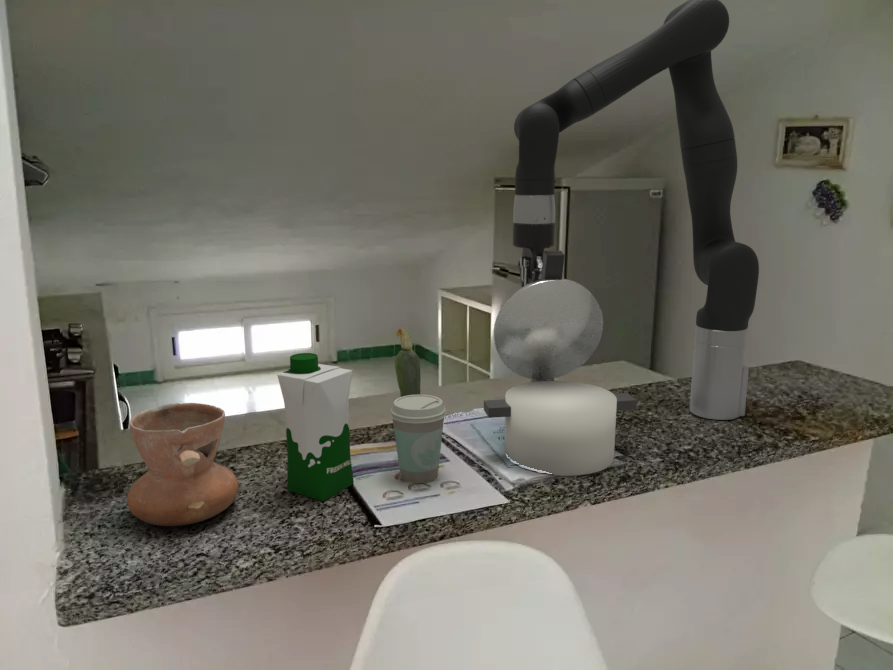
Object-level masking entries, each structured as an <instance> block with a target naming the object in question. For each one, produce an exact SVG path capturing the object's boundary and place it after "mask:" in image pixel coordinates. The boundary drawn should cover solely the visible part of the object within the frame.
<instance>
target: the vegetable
mask: <svg viewBox="0 0 893 670" xmlns="http://www.w3.org/2000/svg"><path fill="white" fill-rule="evenodd" d="M395 335H396V338H398V337H399V343H400V346H401V350H400V351H398V353H397V354H396V356H395V358H394V359H395V360H394V369H395V375H396V380H397V385H398V388H399V394H400V397H403V396H407V395H421V363H420V357H419V356H418V354H417V353H416V352H415V350H414V349H413V344H412V340H411V338H410V336H409V333H407V330H405V329H404V328H398V329H397V330H396V332H395ZM400 397H399V398H400Z"/></svg>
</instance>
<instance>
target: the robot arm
mask: <svg viewBox="0 0 893 670" xmlns="http://www.w3.org/2000/svg"><path fill="white" fill-rule="evenodd" d="M729 28H730V15H729V12H728V9H727V8H726V5H725V4H724V3H722V1H721V0H687V1H685V2H683V3H682V4H680V5H678V6H676V7H675V8H674V9H672V10H671V11H670V12H669V14H668V15H667V16H666V17H665V19H664V21H663V24H662V25H661V26H660V27H659V28H657V29H655V31H653V32H651V33H650V34H649V35H647V36H645V37H644V38H643V39H641V40H639V41H638V42H635V44H632V45H630V46H629V47H627V48H625V49H623V50H622V51H620V52H618V53H616V54H614V55H612V56H609V58H606V59H604V60H602V61H601V62H598V63H597V64H595V65H594V66H592V67H590V68H588V69H587V70H586V71H584V72H581V74H579V75H577V76H576V77H574V78H572V79H571V80H570V81H568V82H567V83H565V84H564V85H562V86H561V87H560V88H559V89H558V90H556V91H554V92H552V93H551V94H549V95H547V96H545V97H543V98H541V99H539V100H538V101H536V102H534V103H532V104H530V105H528V106H527V107H524V108H523V109H522V110H521V111H520V112H519V113H518V114H517V116H516V118H515V120H514V124H513V130H514V135H515V137H516V139H518V163H517V165H516V168H515V177H514V179H515V180H514V182H515V183H514V184H515V185H514V202H513V206H512V207H513V208H512V209H513V211H512V216H513V217H512V245H513V246H514V247H515V248H518V249H522V254H521V256H519V257H520V258H519V259H520V260H518V263H517V265H518V271H519V277H520V283H521V284H520V285H521V288H522V287H524V286H526V285H528V284H530V283H532V282H535V281H538V280H541V273H542V263H543V253H544V251H545V249H549V248H552V247H554V246H555V235H556V233H555V232H556V229H555V228H556V201H555V200H556V199H555V187H556V186H555V183H556V182H555V181H556V180H555V179H556V177H555V176H556V175H555V174H556V173H555V167H556V166H555V165H556V158H557V154H558V153H557V152H558V146H559V137H560V133H561V132H563V131H565V130H566V129H568V128H569V127H571V126H572V125H574V124H575V123H579V122H581V121H583V120H586V119H588V118H589V117H592V116H593V115H595V114H597V113H598V112H600V111H602V110H603V109H604V108H606V107H608V106H610V105H611V104H613V103H614V102H616V101H617V100H619V99H620V98H622V97H623V96H625V95H626V94H628V93H629V92H631V91H632V90H633V89H634V90H635V88H636V87H638V86H640V85H642V84H644V82H646V81H648V80H649V79H651V78H653V77H654V76H656V75H657V74H659V73H661V72H663V71H664V70H667V69H668V71H669V75H670V76H669V77H670V80H671V83H672V89H673V93H674V102H675V112H676V120H677V129H678V136H679V145H680V154H681V161H682V169H683V173H684V178H685V184H686V191H687V199H688V204H689V209H690V216H691V226H692V229H691V230H692V251H693V252H692V253H693V254H692V257H693V258H692V259H693V267H694V273H695V274H696V276H697V278H698V279H699V280H700V282H702V283H703V284H704V285H705V286H707V290H706V291H707V292H706V297H705V302H704V305H703V307H701V308H699V309H698V310H697V312H696V317H695V319H696V320H695V331H694V346H693V356H692V357H693V359H692V372H691V373H692V374H691V385H690V387H691V388H690V398H689V412H690V413H692V414H693V415H695V416H697V417H700V418H704V419H708V420H709V419H710V420H717V421H718V420H719V421H720V420H721V421H722V420H723V421H728V420H735V419H737V418H739V417H745V415H746V404H747V396H748V395H747V394H748V393H747V392H748V385H749V384H748V382H749V369H750V368H749V367H747V366H746V365H745V363H746V354H747V353H746V351H747V339H748V331H749V330H748V329H749V321H750V318H751V317H752V315H753V313H754V310H755V304H756V298H757V291H758V285H759V284H758V283H759V275H760V262H759V258H758V256H757V254H756V252H755V251H754V249H753V248H751V246H749V245H747V244H745V243H742V242H738V241H736V240H735V234H734V231H733V224H732V218H731V217H732V216H731V205H732V204H731V203H732V197H733V192H734V189H735V185H736V180H737V174H738V173H737V172H738V153H737V145H736V138H735V132H734V127H733V124H732V120H731V117H730V116H729V114H728V111H727V110H726V109H727V108H726V107H725V105H724V102H723V101H722V99H721V95H720V94H719V93H718V90H717V87H716V84H715V77H714V73H713V62H712V51H713V50H715V49H716V48H717V47H718V46H719V45H720V44H721V43H722V41H723V40H724V39H725V37H726V35H727V34H728V30H729Z"/></svg>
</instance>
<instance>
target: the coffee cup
mask: <svg viewBox="0 0 893 670" xmlns="http://www.w3.org/2000/svg"><path fill="white" fill-rule="evenodd" d="M389 414H390V417H391V419H392V425H393V431H394V433H393V434H394V440H395V445H396V447H395V448H396V455H397V460H398V467H399V475H400V478H401V479H402V480H403V481H405V482H408V483H413V484H415V483H416V484H421V483H422V484H424V483H428V482H432V481H434V480H435V479H437V478H438V476H439V466H440V458H441V448H442V440H443V439H442V437H443V429H444V421H445V417H446V416H447V411H446V407H445V405H444V401H443V400H442V399H441V398H440V397H438V396H435V395H430V394H420V395H407V396H403V397H398V398H396V399H395V400H394V401H393V404H392V406H391V408H390V413H389Z"/></svg>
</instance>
